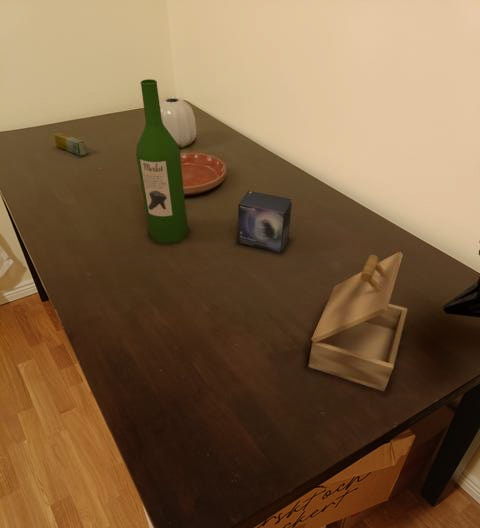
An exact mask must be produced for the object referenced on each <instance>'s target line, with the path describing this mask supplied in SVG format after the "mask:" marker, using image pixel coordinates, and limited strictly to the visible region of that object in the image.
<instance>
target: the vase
mask: <svg viewBox="0 0 480 528" xmlns="http://www.w3.org/2000/svg"><path fill="white" fill-rule="evenodd" d="M159 103H160V110H161V117H162V123H163V125H164V126H165V128H166V129H167V130H168V132H169V133H170V134H171V136H172V137H173V138H174V140H175V141H176V142H177V144H178V147H179V149H180V148H184V147H186V146H190V145H191V144H192V143H193V142H194V140H195V139H196V138H197V124H196V118H195V113H194V110H193V108H192V106H191V105H190V104H189V103H188V102H186V100H184V99H182V98H180V97H176V96H175V97H172V96H171V97H166V98H164V99H162V100H161V101H159Z"/></svg>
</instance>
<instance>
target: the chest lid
mask: <svg viewBox="0 0 480 528" xmlns="http://www.w3.org/2000/svg"><path fill="white" fill-rule="evenodd" d="M403 256H404V255H403V253H402V252H401V251H398V252H396V253H394V254H393V255H390V256H389V257H387V258H385V259H383V260H381V261H379V258H378V256H377V255H376V254H370V255H368V256H367V258H366V261H365V263H364V266H363V269H362V271H361V272H359V273H357V274H355V275H352V276H351V277H349V278H347V279H346V280H344V281H341V282H339V283H337V284H336V285H334V287H333V289H332V292H331V294H330V296H329V298H328V301H327V303H326V305H325V308H324V310H323V313H322V315H321V317H320V319H319V321H318V324H317V326H316V328H315V330H314V333H313V334H312V337H311V339H310V340H311V341H312V343H313V342H314V343H315V342H318V341H320V340H322V339H325V338H327V337H329V336H332V335H334V334H336V333H339V332H341V331H343V330H346V329H348V328H350V327H353V326H355V325H357V324H360V323H362V322H364V321H367V320H369V319H371V318H374V317H376V316H378V315H381V314H383V313H385V312H386V311H387V308H388V304H390V301H391V298H392V294H393V291H394V286H395V283H396V281H397V276H398V273H399V270H400V266H401V263H402V259H403Z"/></svg>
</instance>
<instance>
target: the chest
mask: <svg viewBox="0 0 480 528" xmlns="http://www.w3.org/2000/svg"><path fill="white" fill-rule="evenodd" d="M407 312H408V308H407V307H403V306H400V305H397V304H396V305H395V304H392V303H389V304H388V308H387V311H386V312H385V313H383V314H381V315H378V316H376V317H374V318H371V319H369V320H367V321H364V322H362V323H360V324H357V325H355V326H353V327H350V328H348V329H346V330H343V331H341V332H339V333H336V334H334V335H332V336H329V337H327V338H325V339H322V340H320V341H318V342H315V343H314V342H313V341H312V343H311V349H310V354H309V360H308V366H307V367H308V368H310V369H314V370H317V371H320V372H323V373H325V374H328V375H332V376H335V377H339V378H341V379H344V380H348V381H350V382H354V383H356V384H360V385H362V386H366V387H369V388H372V389H375V390H378V391H381V392H385V391H386V389H387V386H388V383H389V381H390V379H391V375H392V373H393V371H394V366H395V363H396V358H397V356H398V355H397V354H398V351H399V346H400V342H401V338H402V334H403V329H404V326H405V322H406V317H407Z"/></svg>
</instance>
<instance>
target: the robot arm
mask: <svg viewBox="0 0 480 528" xmlns="http://www.w3.org/2000/svg"><path fill="white" fill-rule="evenodd" d="M478 243H479V244H480V241H479V242H478ZM478 256H479V257H480V249H479V250H478ZM442 310H443V311H444V313H445V314H446V315H454V316H461V317H471V318H472V317H473V318H480V276H479V277H478V279H477V280H476V281H475V282H474V283H473V284H471V285H470V286H468V287H467V288H466V289H465V290H464V291H462V292H460V293H458V295H456V296H455V297H454V298H452V299H450V300H449V301H448V302H446V303H444V305H443V309H442Z"/></svg>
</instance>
